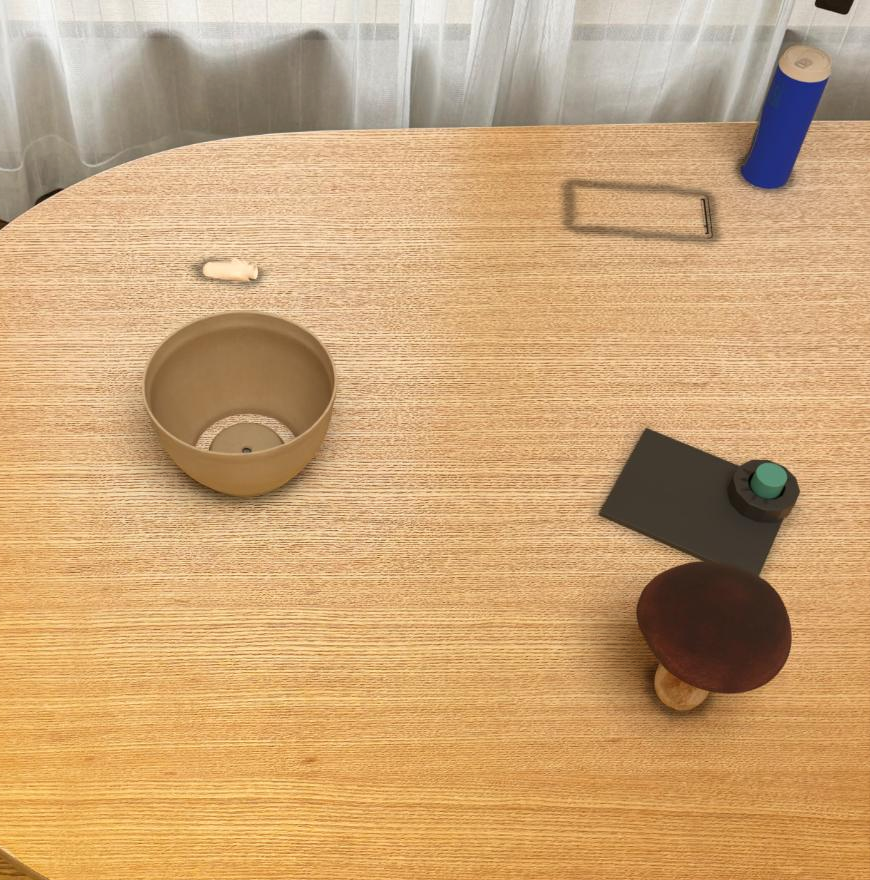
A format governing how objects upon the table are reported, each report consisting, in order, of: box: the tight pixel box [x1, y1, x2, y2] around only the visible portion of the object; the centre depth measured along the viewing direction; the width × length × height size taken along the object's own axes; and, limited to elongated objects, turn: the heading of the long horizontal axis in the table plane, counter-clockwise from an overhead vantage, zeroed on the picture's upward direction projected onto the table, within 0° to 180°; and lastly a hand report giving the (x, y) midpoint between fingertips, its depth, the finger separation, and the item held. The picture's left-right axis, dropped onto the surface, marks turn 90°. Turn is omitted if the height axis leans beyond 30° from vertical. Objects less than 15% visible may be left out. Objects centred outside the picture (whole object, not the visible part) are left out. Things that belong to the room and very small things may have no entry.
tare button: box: [750, 463, 787, 499], centre depth 100 cm, size 3×3×2 cm
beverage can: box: [740, 44, 833, 190], centre depth 123 cm, size 5×5×15 cm
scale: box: [598, 427, 801, 577], centre depth 102 cm, size 14×11×4 cm
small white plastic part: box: [202, 257, 259, 282], centre depth 118 cm, size 4×6×3 cm, turn 54°
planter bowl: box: [141, 309, 338, 498], centre depth 101 cm, size 16×16×11 cm
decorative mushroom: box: [635, 560, 793, 711], centre depth 86 cm, size 11×11×15 cm
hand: (832, 6), depth 110 cm, fingers closed
